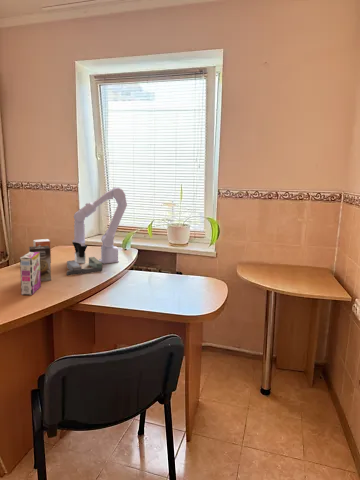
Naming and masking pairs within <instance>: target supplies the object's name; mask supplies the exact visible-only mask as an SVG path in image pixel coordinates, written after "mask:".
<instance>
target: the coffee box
mask: <svg viewBox="0 0 360 480" xmlns="http://www.w3.org/2000/svg"><path fill="white" fill-rule="evenodd" d="M29 252H40V279H41V282H47V281H52V267H51V264H52V260H51V261H50V247H49V246H34V247H33V246H29V247H28V253H29Z"/></svg>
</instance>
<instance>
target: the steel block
mask: <svg viewBox="0 0 360 480" xmlns="http://www.w3.org/2000/svg"><path fill="white" fill-rule="evenodd" d="M74 260H75V261H76V262H77V263H78V264H79V265H81V264H86V253H85V254H84V257H81V258H80V256H79V252H75V251H74Z"/></svg>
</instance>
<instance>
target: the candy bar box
mask: <svg viewBox="0 0 360 480" xmlns="http://www.w3.org/2000/svg"><path fill="white" fill-rule="evenodd" d="M19 270H20V292H21V294H20V295H21V296H33V295H34V294H35V293H37V291H38V290H39V289H40V288H41V287H42V285H41V284H42V283H41V282H42V281H41V279H40V252H29V251H28V252H27V253H25V254H24V255H22V256H20V257H19Z"/></svg>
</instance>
